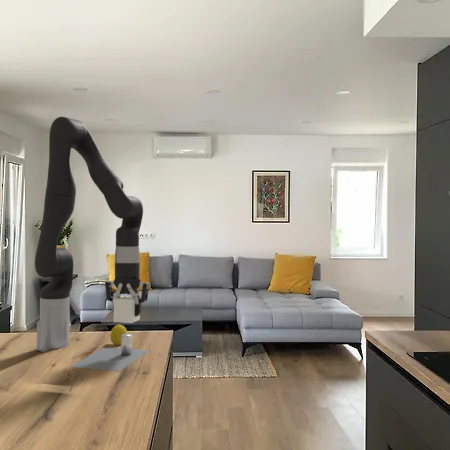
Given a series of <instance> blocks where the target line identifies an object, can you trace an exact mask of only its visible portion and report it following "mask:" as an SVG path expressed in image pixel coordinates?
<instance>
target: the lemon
mask: <svg viewBox="0 0 450 450" xmlns="http://www.w3.org/2000/svg"><path fill="white" fill-rule="evenodd" d="M122 334H128V331H127V328H126V327H125V326H124V325H122V324H120V323H118V324H117V325H115V326H114V327H112V329H111V331H110V341H111V343H112V344H113V345H114V346H121V335H122Z"/></svg>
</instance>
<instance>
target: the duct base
mask: <svg viewBox="0 0 450 450" xmlns="http://www.w3.org/2000/svg"><path fill="white" fill-rule="evenodd" d="M148 352H149V350H147V349H145V350H144V349H133V348H132V355H129V356H122V355H121V347H108V346H107V347H106V346H105V347H103V348H101V349H100V350H98V351H96V352H94V353H92V354H90V355H89V356H87V357H85V358H83V359H81V360H80V361H78V362H76V363H74V364H72V365H71V366H70V368H76V369H86V370H87V369H88V370H89V369H90V370H101V371H102V370H103V371H113V372H121V371H122V370H124V369H125V368H126V367H128V366H129V365H131V364H132V363H133V362H135V361H137V360H138V359H139V358H140V357H142V356H144V355H145V354H147V353H148Z"/></svg>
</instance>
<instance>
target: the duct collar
mask: <svg viewBox="0 0 450 450" xmlns="http://www.w3.org/2000/svg"><path fill="white" fill-rule="evenodd" d="M135 304H136V303H135V299H133V298H132V296H131V295H130V296H127V295H122V296H121V297H118V298H115V299H114V313H113V323H125V324H133V323H135V322H137V321H139V320H140V319H141V318H140V317H141V314H139V316H137V317H136V316H135Z"/></svg>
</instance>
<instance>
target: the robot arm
mask: <svg viewBox="0 0 450 450" xmlns="http://www.w3.org/2000/svg"><path fill="white" fill-rule="evenodd" d="M48 138H49V140H48V141H49V142H48V143H49V144H48V145H49V146H48V148H49V151H48V155H49V157H48V168H47V169H48V171H47V179H46V180H47V181H46V188H45V194H44V195H45V197H44V203H43V213H42V219H41V220H42V221H41V228H40V234H39V238H38V242H37V246H36V247H37V248H36V252H35V257H34V268H35V272H36V273H37V275H38V276H39V277H41V278H50V280H49V282H48V283H47V284H46V285H45V286H43V287H41V289H40V291H39V320H37V321H36V351H39V352H41V353H44V352H47V351H49V350H57V349H63V348H67V347H69V346H70V324H71V323H70V316H71V315H70V312H71V311H70V310H71V309H70V306H71V305H70V304H71V302H70V301H71V297H70V296H71V294H70V293H71V291H72V287H73V279H74V258H73V254H72V253H71V251H70V250H69V249H67V248H65V247H58V243H59V238H60V234H61V233H62V230H63V229H64V227H65V226H66V225H67V223H68V221H70V218H71V217H72V214H73V212H74V209H75V204H76V198H77V197H76V196H77V194H76V193H77V187H76V183H75V179H74V177H73V173H72V170H71V166H70V165H71V164H70V160H71V159H70V158H71V151H72V150H71V149H74V150H75V151H76V153H78V154H79V155H80V156H81V157H82V159H83V160H84V162H85V164H86V166H87V170H88V173H89V176H90V178H91V180H92V182H93V183H94V185H96V187H97V188H98V189H99V191H100V192H101V193H102V195H103V196H104V199H105V201H106V205H107V207H108V208H109V210H110V211H111V213H112V214H113V215H114V216H115V217H117V218H118V219H121V225H120V227H118V228H116V231H115V251H114V279H113V280H108V281H105V283H104V286H105V294H106V300H107V301H108V302H110V303H112V313H113V314H114V299H115V298H118V297H121V296H124V295H125V294H126V295H130V296H132V298H133V299H135V303H136V304H135V316H136V317H137V316H139V314H140V315H141V313H142V304H143V303H145V302H147V301H148V298H149V297H148V296H149V290H150V282H149V281H148V282H143V281H141V279H140V274H141V273H140V271H141V268H140V263H141V262H140V261H141V256H140V255H141V254H140V230H141V225H142V221H143V215H144V205H143V203H142V201H141V199H140V198H139V197H136V196H134V195H133V196H132V195H131V196H129V195H127V194H126V193H125V190H124V183H123V181H122V180H121V178H120V177H119V176H118V174H117V173H116V171H114V169H113V168H112V167H111V165H110V164H109V163H108V161H107V160H106V159H105V157H104V155H103V154H102V152H101V150H100V149H99V147H98V145H97V144H96V141H95V140H94V138H93V136H92V134H91V132H90V130H89V128H88V127H87V126H86V124H85V123H84V122H82V121H81V120H77V119H74V118H70V117H65V116H59V117H55V119H54V120H53V121H52V123H51V125H50V129H49V137H48ZM114 287H115V288H116V291H115V293H114V289H113V288H114ZM139 287H140V289H141V293H140V292H139ZM140 294H141V296H140Z"/></svg>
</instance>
